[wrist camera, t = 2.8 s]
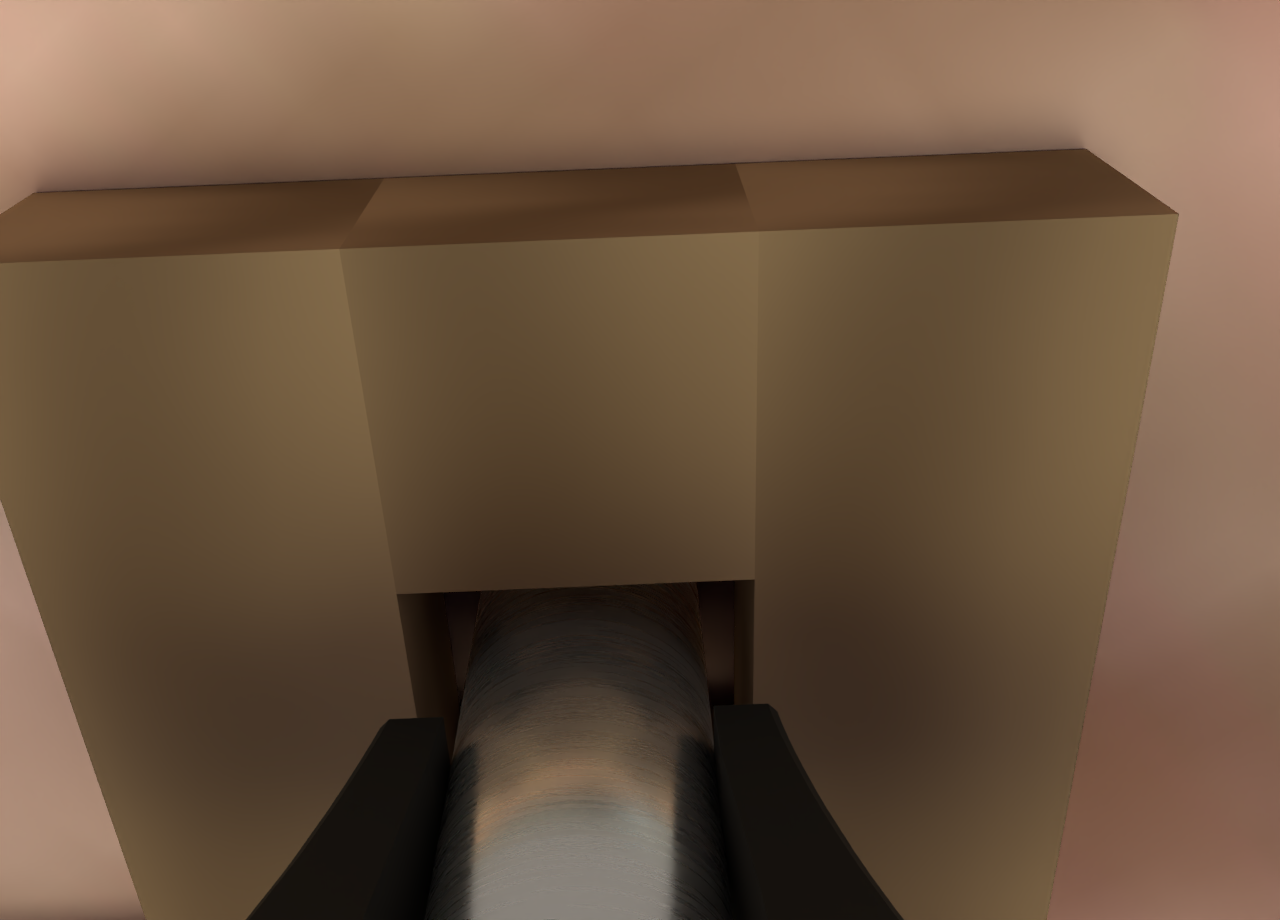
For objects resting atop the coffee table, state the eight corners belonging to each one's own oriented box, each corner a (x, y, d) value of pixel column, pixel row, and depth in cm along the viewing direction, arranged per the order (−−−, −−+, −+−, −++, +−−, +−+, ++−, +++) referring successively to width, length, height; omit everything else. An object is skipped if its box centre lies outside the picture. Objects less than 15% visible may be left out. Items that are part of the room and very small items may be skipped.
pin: (695, 503, 16) (763, 1068, 9) (699, 681, 17) (758, 1291, 10) (470, 513, 16) (351, 1085, 9) (492, 690, 17) (406, 1305, 10)
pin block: (1086, 148, 13) (1178, 214, 11) (978, 888, 19) (1026, 1027, 17) (33, 193, 13) (-82, 266, 11) (242, 919, 19) (195, 1061, 17)
